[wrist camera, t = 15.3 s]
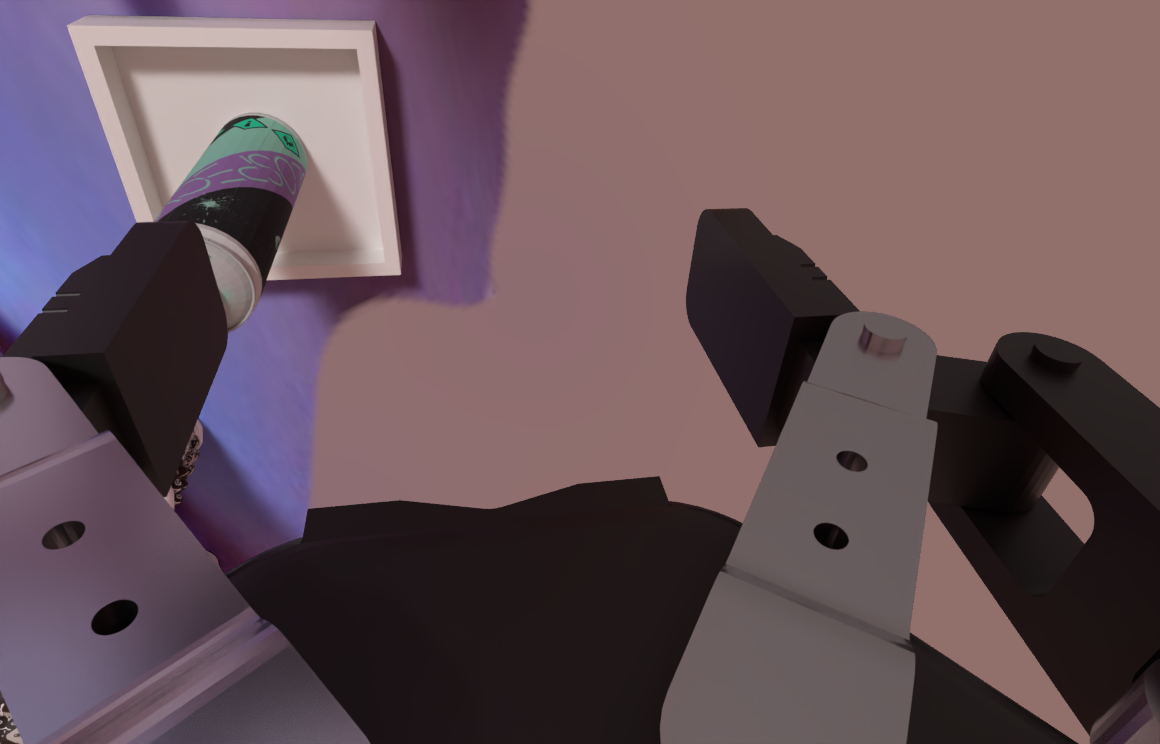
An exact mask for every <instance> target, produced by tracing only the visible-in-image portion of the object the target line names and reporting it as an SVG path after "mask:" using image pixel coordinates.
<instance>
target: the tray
mask: <svg viewBox="0 0 1160 744" xmlns="http://www.w3.org/2000/svg"><path fill="white" fill-rule="evenodd" d="M67 28H68V30H69V33H70V36H71V39H72V42H73V44H74V47H75V50H76V53H77V56H78V58H79V61H80V64H81V67H82V70H83V73H84V75H85V78H86V81H87V84H88V87H89V89H90V92H91V95H92V98H93V101H94V104H95V106H96V109H97V112H98V115H99V118H100V120H101V123H102V126H103V129H104V132H105V135H106V137H107V140H108V143H109V146H110V149H111V151H112V154H113V157H114V160H115V163H116V165H117V168H118V171H119V174H120V177H121V180H122V182H123V185H124V188H125V191H126V194H127V196H128V199H129V202H130V205H131V208H132V211H133V213H134V216H135V219H136V222H137V223H138V222H154V220H155V219H156V218H157V216H158V215H159V214H160V212H161V211H162V209H163V208H164V207H165V205H166V204H167V203H168V201H169V200H170V199H171V197H172V196H173V194H174V193H175V192H176V190H177V189H178V188H179V186H180V185H181V183H182V182H183V181H184V179H185V178H186V177H187V175H188V174H189V173H190V171H191V170H192V168H193V167H194V166H195V164H196V163H197V162H198V160H199V159H200V158H201V156H202V155H203V153H204V152H205V151H206V149H207V148H208V147H209V145H210V144H211V142H212V141H213V140H214V138H215V137H216V136H217V134H218V133H219V132H220V130H221V129H222V128H223V126H224V125H225V124H226V123H227V122H228V121H230V120H231V119H232V118H234V117H236V116H238V115H241V114H245V113H250V112H257V113H264V114H269V115H271V116H274V117H277V118H278V119H280V120H282V121H284V122H285V123H287V124H288V125H289V126H290V127H291V128H293V129H294V131H295V132H296V133H297V134H298V135H299V137H300V138H301V140H302V142H303V144H304V146H305V149H306V152H307V158H308V163H307V170H306V174H305V177H304V180H303V183H302V186H301V188H300V191H299V194H298V196H297V199H296V202H295V204H294V207H293V210H292V213H291V215H290V218H289V221H288V223H287V226H286V229H285V231H284V234H283V237H282V240H281V242H280V245H279V248H278V250H277V253H276V256H275V258H274V261H273V264H272V266H271V269H270V272H269V275H268V277H267V280H289V279H313V278H338V277H362V276H387V275H401V266H402V250H401V242H400V233H399V224H398V216H397V207H396V198H395V189H394V181H393V172H392V163H391V155H390V146H389V137H388V128H387V120H386V111H385V102H384V94H383V85H382V76H381V67H380V59H379V50H378V41H377V33H376V24H375V21H362V20H312V19H261V18H210V17H160V16H109V15H87V16H85V17H83V18H81V19H79V20H77V21H75V22H73V23H71V24H68V25H67Z"/></svg>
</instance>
